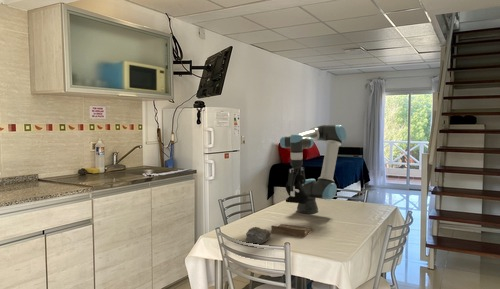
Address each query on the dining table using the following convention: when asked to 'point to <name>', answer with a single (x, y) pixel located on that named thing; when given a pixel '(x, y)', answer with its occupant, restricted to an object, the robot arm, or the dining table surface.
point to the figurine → (299, 196)
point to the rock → (257, 235)
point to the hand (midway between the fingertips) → (297, 195)
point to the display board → (291, 230)
